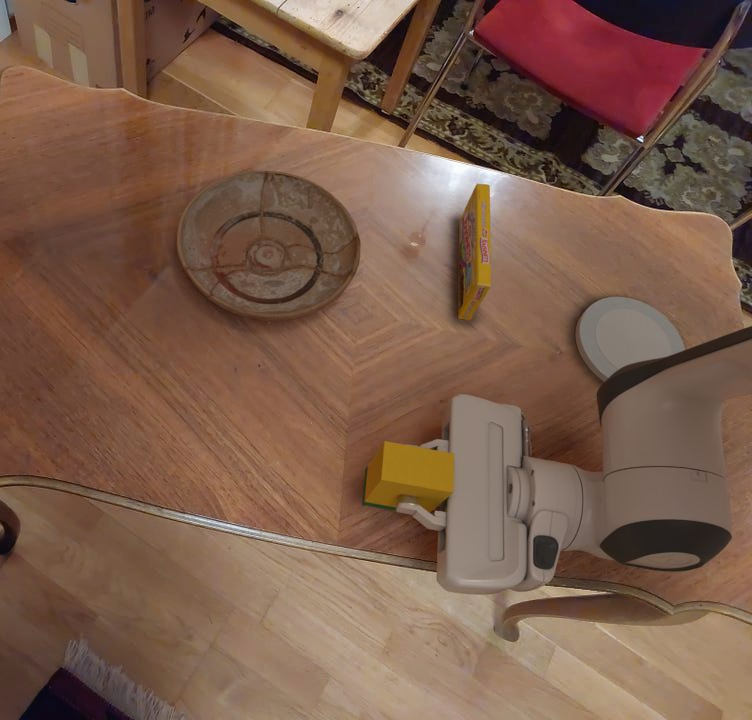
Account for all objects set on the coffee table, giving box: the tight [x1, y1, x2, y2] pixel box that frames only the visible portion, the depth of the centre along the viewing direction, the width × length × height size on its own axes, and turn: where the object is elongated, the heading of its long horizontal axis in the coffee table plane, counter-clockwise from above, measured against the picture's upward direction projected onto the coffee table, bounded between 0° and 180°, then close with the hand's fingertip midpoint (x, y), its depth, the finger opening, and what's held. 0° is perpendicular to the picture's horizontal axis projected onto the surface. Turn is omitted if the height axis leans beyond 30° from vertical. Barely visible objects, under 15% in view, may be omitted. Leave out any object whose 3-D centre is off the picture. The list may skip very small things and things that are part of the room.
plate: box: [574, 296, 686, 383], centre depth 85 cm, size 14×14×1 cm
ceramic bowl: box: [176, 170, 362, 322], centre depth 85 cm, size 23×24×5 cm
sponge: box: [361, 440, 454, 513], centre depth 67 cm, size 4×7×9 cm, turn 81°
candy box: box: [457, 183, 492, 321], centre depth 86 cm, size 16×2×8 cm, turn 172°
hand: (399, 477), depth 67 cm, fingers closed on sponge, 4 cm apart
